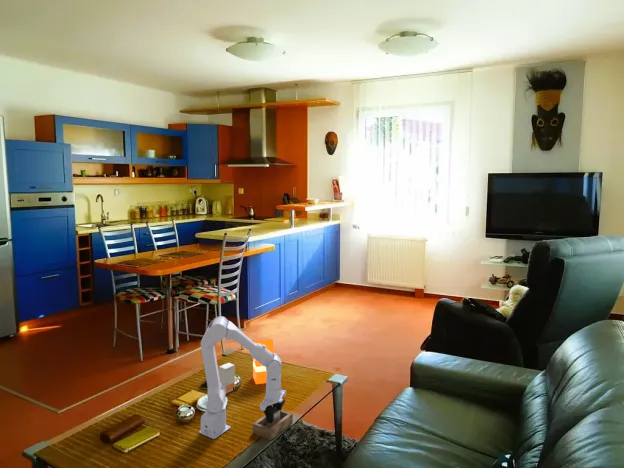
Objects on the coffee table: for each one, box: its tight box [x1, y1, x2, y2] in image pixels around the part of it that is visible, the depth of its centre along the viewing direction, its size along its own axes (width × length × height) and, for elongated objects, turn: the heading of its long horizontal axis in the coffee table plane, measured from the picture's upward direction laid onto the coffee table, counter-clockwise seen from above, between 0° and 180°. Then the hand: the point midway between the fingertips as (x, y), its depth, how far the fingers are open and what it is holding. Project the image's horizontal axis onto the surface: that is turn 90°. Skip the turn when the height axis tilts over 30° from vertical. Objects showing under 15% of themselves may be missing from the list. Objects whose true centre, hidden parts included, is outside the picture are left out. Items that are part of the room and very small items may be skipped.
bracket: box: [266, 405, 280, 428], centre depth 183 cm, size 4×4×7 cm
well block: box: [252, 409, 294, 441], centre depth 183 cm, size 14×8×4 cm, turn 148°
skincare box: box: [218, 362, 236, 394], centre depth 212 cm, size 6×4×12 cm
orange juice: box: [252, 338, 275, 385], centre depth 223 cm, size 8×9×20 cm
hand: (273, 419), depth 183 cm, fingers closed on bracket, 4 cm apart
